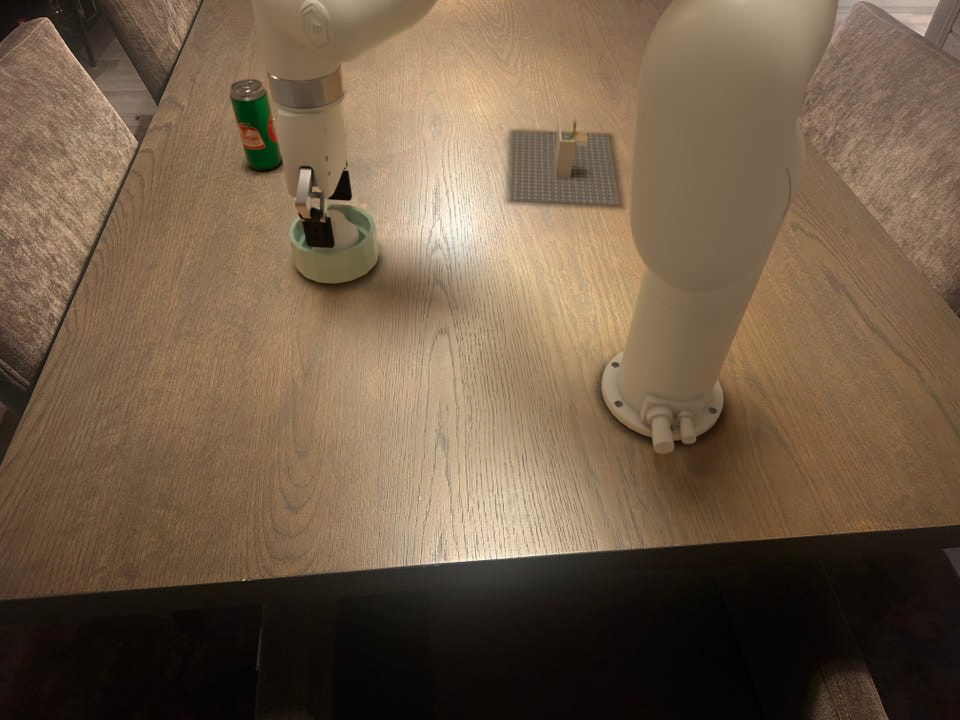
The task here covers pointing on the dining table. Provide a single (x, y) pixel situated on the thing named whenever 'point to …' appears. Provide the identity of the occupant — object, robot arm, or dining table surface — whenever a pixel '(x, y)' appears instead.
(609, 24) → the dining table surface
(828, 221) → the dining table surface
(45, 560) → the dining table surface
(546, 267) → the dining table surface
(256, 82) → the soda can
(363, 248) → the bowl
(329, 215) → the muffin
